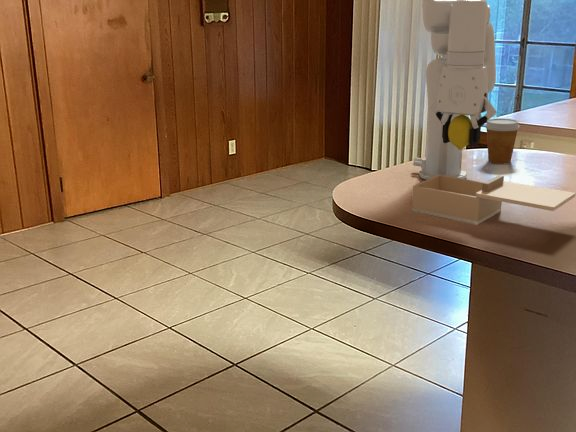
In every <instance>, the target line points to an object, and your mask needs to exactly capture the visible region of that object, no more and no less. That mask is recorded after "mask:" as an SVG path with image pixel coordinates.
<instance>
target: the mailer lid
mask: <svg viewBox="0 0 576 432" xmlns="http://www.w3.org/2000/svg"><path fill="white" fill-rule="evenodd" d="M504 179H505V176H504V175H500V174H499V175H496V176H494V177H492V178H490V179H488V180H485V181H484V183H483V185H482V190H481V191H479V192H477V193H476V195H475V197H479V198H485V199H490V200H496V201H501V202H503V203H508V204H513V205H519V206H522V207H523V206H524V207H529V208H533V209H540V210H544V211H551V212H554V211H556V210H557V209H559V208H561V207H562V206H564V205H565V204H566V203H568V202H569V201H571V200H573V199H574V198H575V197H576V192H573V191H566V190H561V189H560V190H559V189H553V188H548V187H542V186H534V185H529V184H523V183H518V182H510V181H505V180H504Z"/></svg>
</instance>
